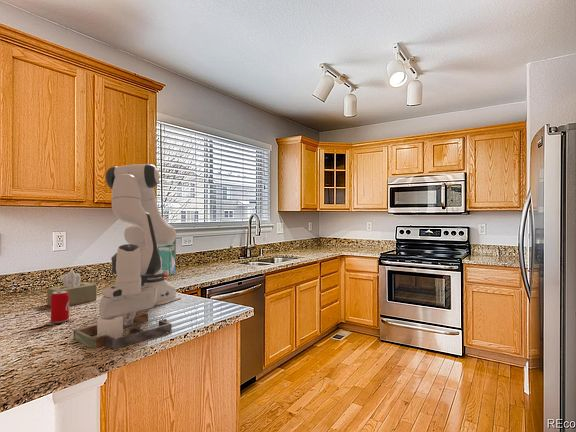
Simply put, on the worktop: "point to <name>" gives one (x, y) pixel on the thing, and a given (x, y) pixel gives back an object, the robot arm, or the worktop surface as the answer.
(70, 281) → the tissue box
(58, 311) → the beverage can
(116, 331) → the toilet paper
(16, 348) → the worktop surface
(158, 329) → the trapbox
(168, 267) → the milk carton
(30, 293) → the worktop surface
